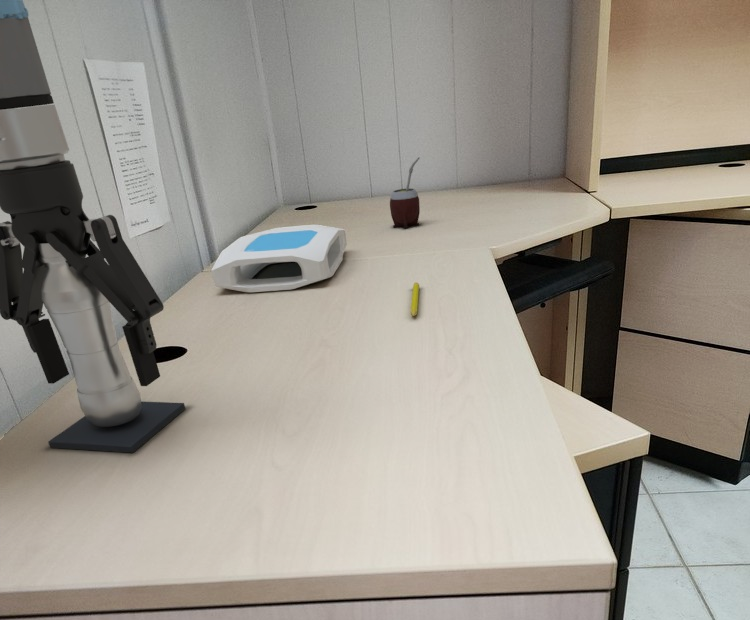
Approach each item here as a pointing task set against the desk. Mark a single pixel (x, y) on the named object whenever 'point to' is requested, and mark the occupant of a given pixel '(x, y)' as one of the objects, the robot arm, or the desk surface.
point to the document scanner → (280, 257)
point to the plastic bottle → (89, 342)
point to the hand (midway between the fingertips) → (103, 380)
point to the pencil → (414, 299)
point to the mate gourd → (405, 205)
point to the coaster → (119, 430)
